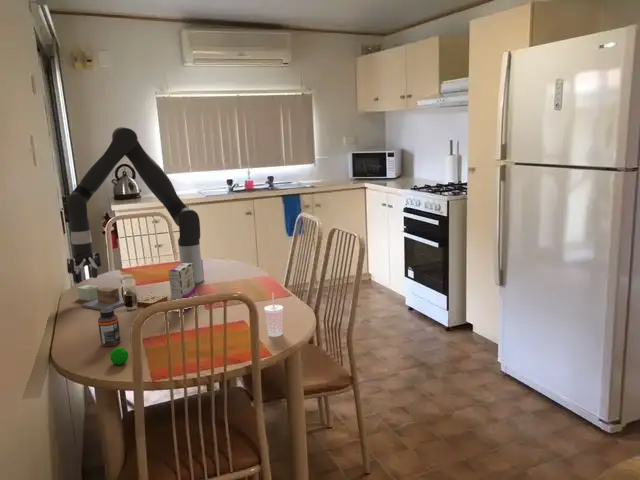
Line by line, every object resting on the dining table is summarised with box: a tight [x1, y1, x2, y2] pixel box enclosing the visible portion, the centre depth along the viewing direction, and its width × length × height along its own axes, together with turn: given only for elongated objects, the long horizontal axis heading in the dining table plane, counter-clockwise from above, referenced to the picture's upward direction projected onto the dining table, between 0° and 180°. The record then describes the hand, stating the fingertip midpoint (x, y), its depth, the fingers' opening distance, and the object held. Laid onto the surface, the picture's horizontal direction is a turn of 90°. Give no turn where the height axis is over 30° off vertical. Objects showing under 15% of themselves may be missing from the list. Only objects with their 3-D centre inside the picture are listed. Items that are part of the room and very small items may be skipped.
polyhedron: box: [109, 347, 129, 366], centre depth 155 cm, size 5×5×5 cm
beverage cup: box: [264, 292, 284, 338], centre depth 172 cm, size 6×6×14 cm
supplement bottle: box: [97, 308, 122, 347], centre depth 169 cm, size 6×6×11 cm
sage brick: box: [77, 284, 99, 302], centre depth 220 cm, size 4×7×5 cm, turn 60°
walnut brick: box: [97, 286, 120, 304], centre depth 212 cm, size 4×7×5 cm, turn 64°
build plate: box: [81, 295, 124, 311], centre depth 213 cm, size 14×14×1 cm
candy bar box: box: [168, 263, 197, 313], centre depth 202 cm, size 11×5×16 cm, turn 168°
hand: (86, 280), depth 219 cm, fingers open, 8 cm apart
